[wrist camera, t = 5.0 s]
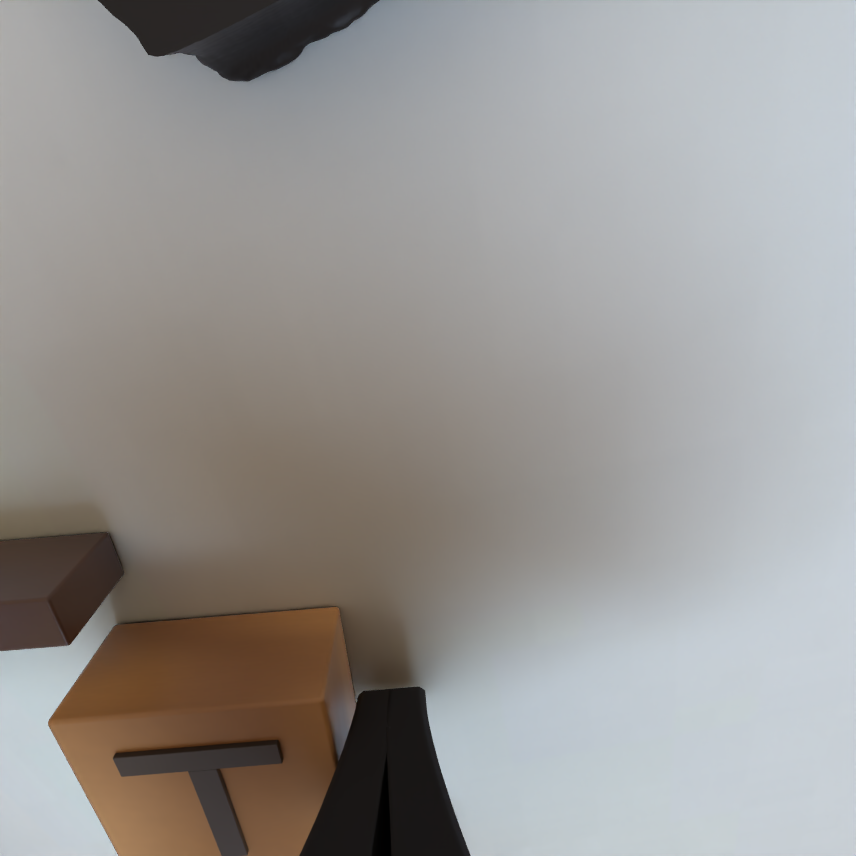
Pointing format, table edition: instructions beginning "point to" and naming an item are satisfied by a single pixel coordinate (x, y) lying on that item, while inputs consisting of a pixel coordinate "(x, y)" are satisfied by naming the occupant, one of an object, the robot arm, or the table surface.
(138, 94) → the table surface
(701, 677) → the table surface
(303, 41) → the dark sector wedge
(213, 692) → the t tile
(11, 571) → the frame
